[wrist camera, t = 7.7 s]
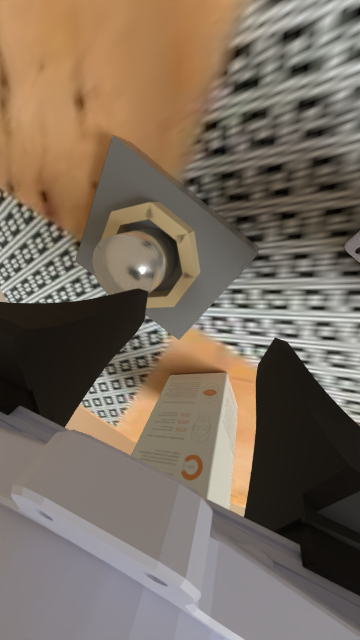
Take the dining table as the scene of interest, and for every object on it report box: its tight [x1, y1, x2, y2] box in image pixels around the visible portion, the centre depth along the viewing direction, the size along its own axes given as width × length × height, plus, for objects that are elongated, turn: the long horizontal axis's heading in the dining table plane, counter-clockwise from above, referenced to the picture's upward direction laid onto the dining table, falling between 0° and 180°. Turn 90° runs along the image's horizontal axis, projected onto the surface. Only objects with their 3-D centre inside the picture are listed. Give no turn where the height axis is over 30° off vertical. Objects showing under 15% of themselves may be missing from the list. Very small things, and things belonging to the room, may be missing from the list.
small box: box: [131, 372, 238, 510], centre depth 22 cm, size 8×6×13 cm
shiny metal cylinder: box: [93, 227, 178, 295], centre depth 16 cm, size 4×4×5 cm
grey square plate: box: [76, 135, 258, 340], centre depth 18 cm, size 13×11×4 cm
